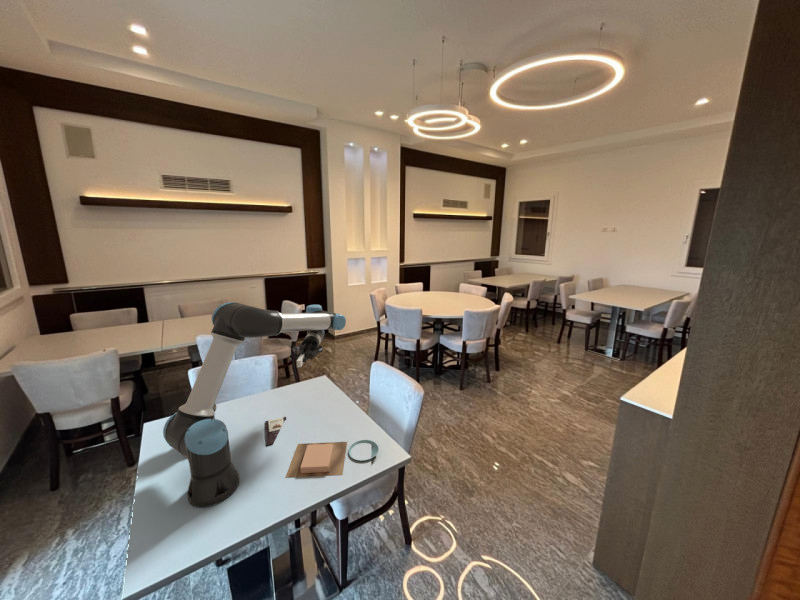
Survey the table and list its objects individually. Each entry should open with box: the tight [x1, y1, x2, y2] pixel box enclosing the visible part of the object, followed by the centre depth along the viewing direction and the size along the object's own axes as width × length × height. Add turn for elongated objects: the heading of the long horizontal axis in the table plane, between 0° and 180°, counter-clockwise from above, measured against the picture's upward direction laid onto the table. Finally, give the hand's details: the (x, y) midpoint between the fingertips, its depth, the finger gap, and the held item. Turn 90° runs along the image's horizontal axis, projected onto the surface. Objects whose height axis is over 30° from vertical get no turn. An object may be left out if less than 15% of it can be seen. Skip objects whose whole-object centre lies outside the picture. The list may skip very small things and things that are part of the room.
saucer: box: [347, 439, 380, 462], centre depth 123 cm, size 12×12×2 cm
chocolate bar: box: [264, 416, 287, 447], centre depth 137 cm, size 9×1×18 cm
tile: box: [300, 444, 334, 473], centre depth 117 cm, size 10×3×12 cm
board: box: [285, 441, 348, 479], centre depth 119 cm, size 20×18×1 cm
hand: (298, 364), depth 122 cm, fingers closed
